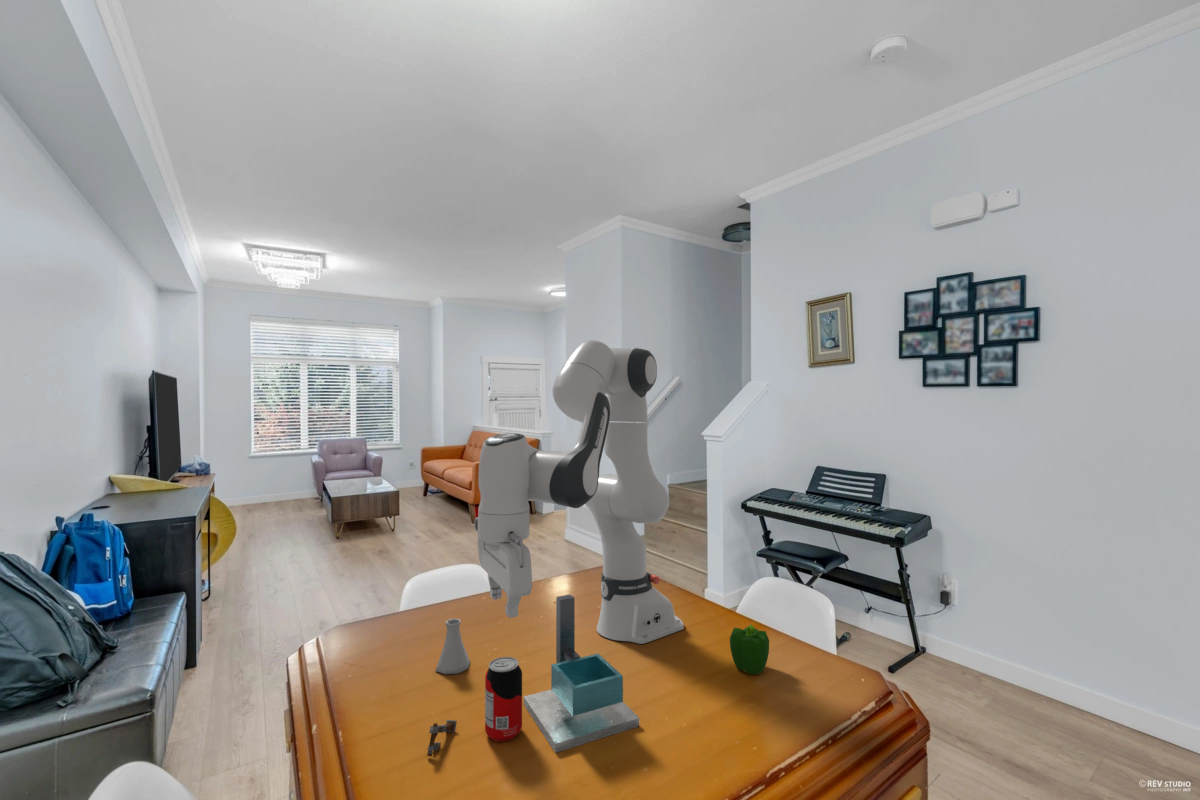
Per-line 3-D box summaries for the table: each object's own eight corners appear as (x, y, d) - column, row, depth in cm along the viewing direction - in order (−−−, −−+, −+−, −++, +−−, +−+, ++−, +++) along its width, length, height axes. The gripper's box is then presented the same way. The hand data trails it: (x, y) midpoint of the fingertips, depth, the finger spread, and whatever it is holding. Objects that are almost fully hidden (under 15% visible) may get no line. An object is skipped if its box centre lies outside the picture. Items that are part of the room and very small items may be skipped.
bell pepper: (731, 657, 120) (731, 613, 120) (769, 663, 117) (769, 617, 117) (727, 675, 112) (727, 627, 112) (768, 681, 109) (768, 632, 110)
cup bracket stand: (598, 684, 108) (598, 588, 109) (639, 726, 94) (638, 615, 94) (523, 704, 101) (523, 601, 101) (555, 752, 87) (555, 632, 87)
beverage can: (520, 743, 89) (520, 671, 89) (482, 745, 89) (482, 673, 89) (523, 721, 95) (523, 654, 96) (487, 723, 95) (487, 655, 95)
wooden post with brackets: (420, 756, 85) (426, 723, 87) (442, 748, 92) (447, 718, 94) (431, 758, 84) (437, 725, 86) (452, 749, 91) (457, 719, 93)
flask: (460, 677, 111) (461, 629, 112) (429, 673, 113) (429, 626, 113) (475, 661, 118) (475, 616, 119) (445, 658, 120) (446, 613, 120)
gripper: (542, 537, 85) (541, 624, 85) (504, 515, 103) (504, 586, 103) (503, 542, 82) (503, 632, 82) (472, 518, 100) (471, 591, 100)
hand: (503, 606), depth 92 cm, fingers open, 8 cm apart
